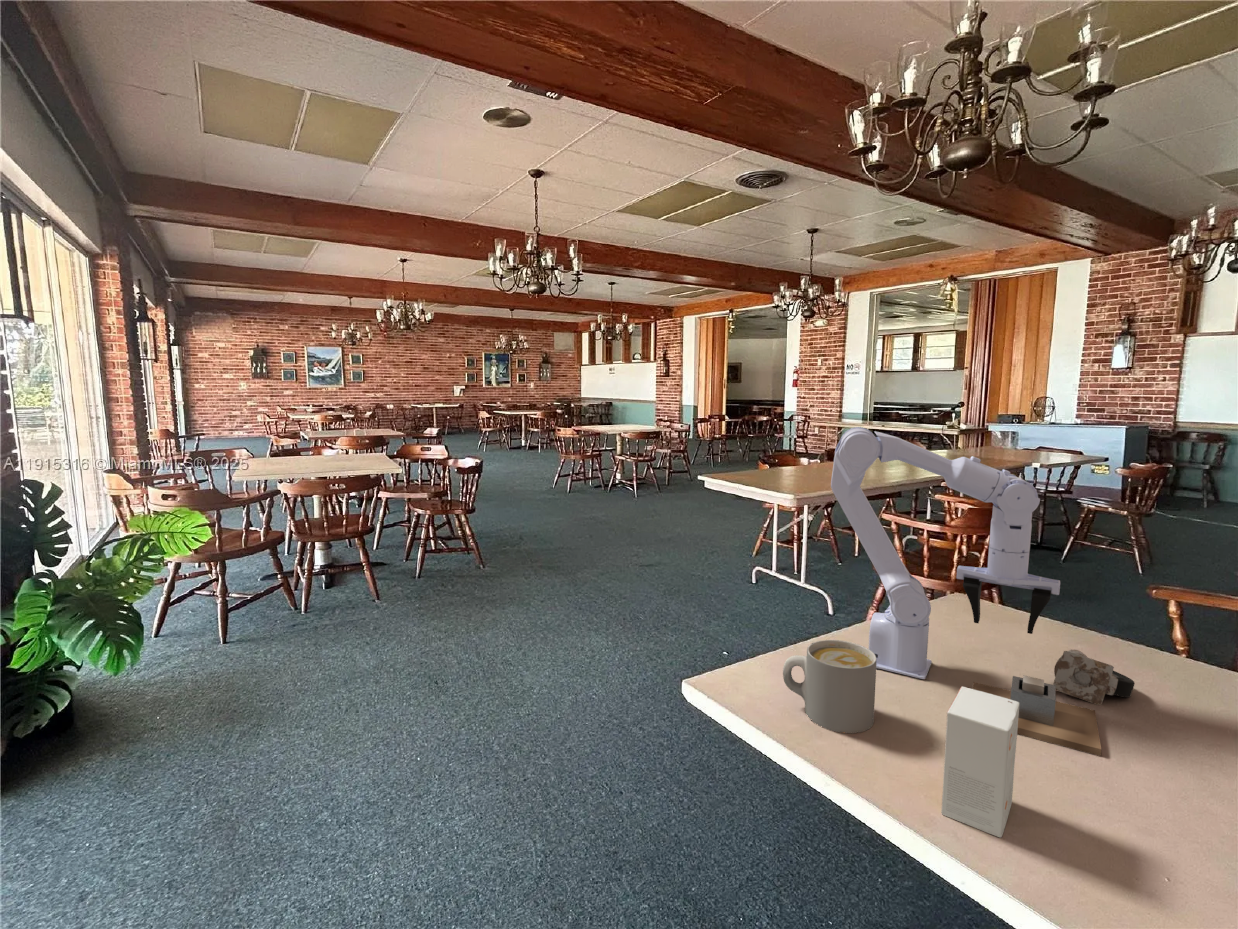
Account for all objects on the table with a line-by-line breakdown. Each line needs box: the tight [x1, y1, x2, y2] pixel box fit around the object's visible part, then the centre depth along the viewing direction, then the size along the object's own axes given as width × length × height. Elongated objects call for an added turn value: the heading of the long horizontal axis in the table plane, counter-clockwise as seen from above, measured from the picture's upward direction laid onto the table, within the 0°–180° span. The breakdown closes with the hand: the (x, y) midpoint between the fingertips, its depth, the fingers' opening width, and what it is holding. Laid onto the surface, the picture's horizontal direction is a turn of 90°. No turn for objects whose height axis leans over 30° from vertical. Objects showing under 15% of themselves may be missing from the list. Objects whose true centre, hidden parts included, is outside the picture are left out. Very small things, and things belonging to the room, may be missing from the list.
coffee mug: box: [782, 639, 877, 734], centre depth 94 cm, size 13×10×10 cm
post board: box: [971, 675, 1102, 757], centre depth 91 cm, size 16×12×6 cm
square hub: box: [1010, 675, 1057, 726], centre depth 91 cm, size 5×5×4 cm
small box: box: [940, 686, 1019, 839], centre depth 72 cm, size 8×6×13 cm
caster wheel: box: [1052, 649, 1135, 706], centre depth 100 cm, size 7×11×10 cm
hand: (1002, 626), depth 103 cm, fingers open, 7 cm apart
